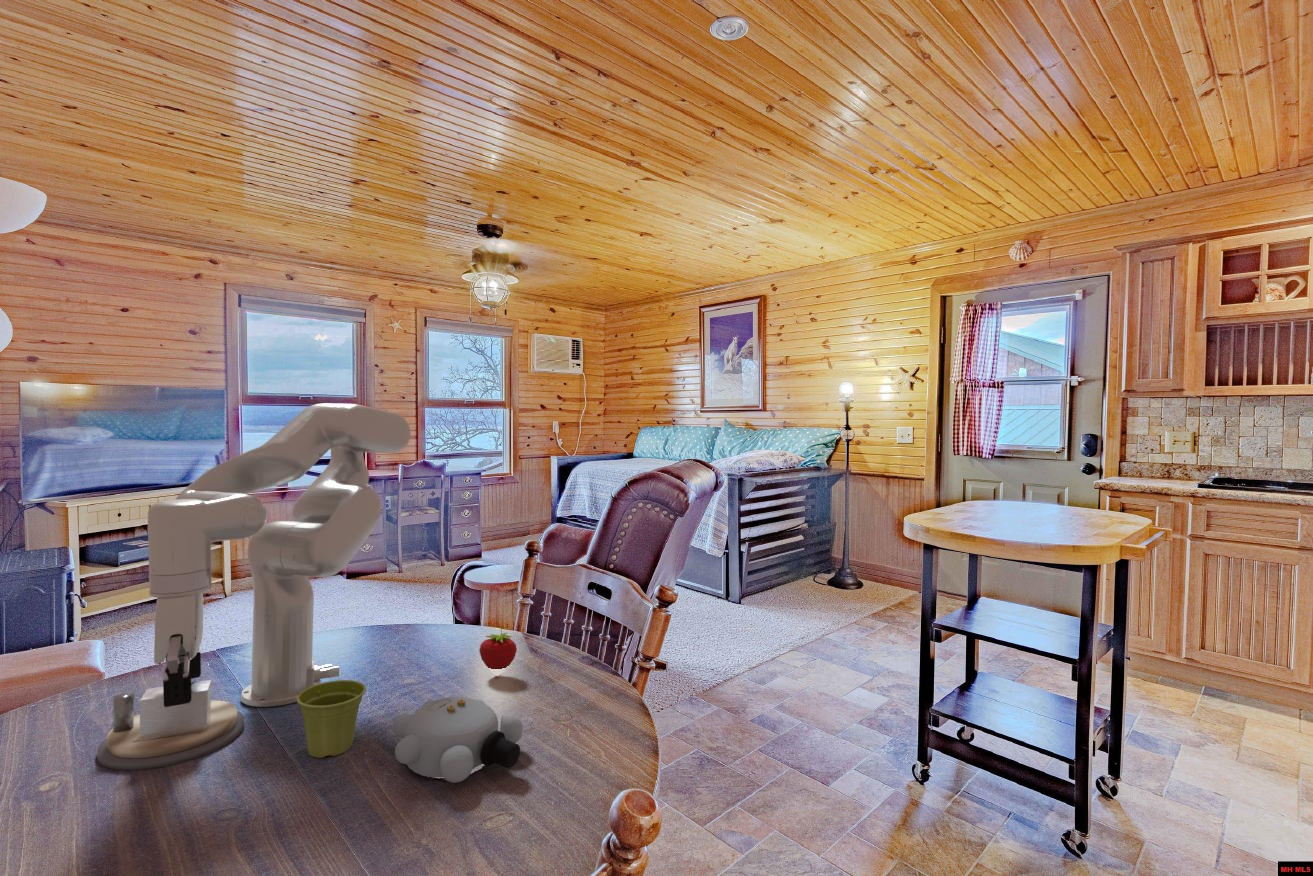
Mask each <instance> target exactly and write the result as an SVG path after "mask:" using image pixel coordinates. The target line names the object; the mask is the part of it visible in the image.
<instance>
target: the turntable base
mask: <svg viewBox="0 0 1313 876" xmlns="http://www.w3.org/2000/svg"><path fill="white" fill-rule="evenodd" d="M244 728H245V716H244V714H243V713H242V712H241V711H239V710H237V722H236V724H235V725H234V726H233V727H232V728H231V729H230V730H229V731H228V732H226V733H225V734H223V735H222V736H220V737H218V738H216V739H214V740H212V741H210V742H207V743H205V744H202V745H200V746H197V747H194V748H191V749H188V750H184V751H180V752H176V753H172V754H167V755H162V756H155V757H146V758H124V757H118V756H115V755H112V754H110V753H109V752H108V751H107V737H106V738H104V740H103V741H102V742H101V743H100V744H99V745H98V747H97V750H96V751H97V752H96V753H97V755H96V756H97V758H96V760H97V763H99V764H100V766H103V767H104V768H107V769H111V770H118V771H138V770H139V771H140V770H150V769H156V768H157V769H158V768H163V767H167V766H172V765H176V764H180V763H184V762H187V761H191V760H194V759H197V758H199V757H203V756H205V755H207V754H210V753H212V752H214V751H217V750H218V749H221V748H222V747H224V746H226V745H228V744H229V743H231V742H232V741H234V740H235V739H236V738H237V737H239V735H240V734H241V733H242V732H243V731H244Z"/></svg>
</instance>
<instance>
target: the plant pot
mask: <svg viewBox="0 0 1313 876" xmlns="http://www.w3.org/2000/svg"><path fill="white" fill-rule="evenodd" d="M366 691H367V687H366V685H365V684H364V683H363V682H361V681H359V680H358V681H357V680H352V679H339V680H332V681H325V682H321V683H320V684H317V685H314V686H311V687H309V688H307V689H305V690H303V691H302V692H301V693H299V695H298V696H297V702H296V703H297V704H298V705H299V707H300V711H301V713H302V719H303V725H304V732H305V739H306V740H305V741H306V750H307V751H306V752H307V754H308V755H309V756H310V757H313V758H318V759H319V758H320V759H322V758H325V757H326V756H333V757H335V756H339V755H342V754H343V753H345V752H347V751H349V749H350V748H351V747H352V745H353V744H354V743H353V742H354V737H355V731H356V725H357V720H358V714H359V708H360V704H361V703H362V700H363V696H364V695H365V693H366Z"/></svg>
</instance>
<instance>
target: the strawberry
mask: <svg viewBox="0 0 1313 876" xmlns="http://www.w3.org/2000/svg"><path fill="white" fill-rule="evenodd" d="M502 627H503V626H502V625H500V635H499V634H490V635H485V638H487V639H485V640H483V641H482V643H480V646H479V649H478V650H479V651H478V652H479V655H480V658H481V660H482V661H483V663H484V665H485V666H486V667H488V668H491V669H502V668H506V667H507V666H509V667H510V665H511V663H512V662H513V661H514V659H515V657H516V655H517V644H516V642H515V641H513V639H511V638H512V636H511V635H507V634H508V632H504V633H503V632H502V629H503V628H502ZM488 668H487V669H488Z"/></svg>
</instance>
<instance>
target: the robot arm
mask: <svg viewBox="0 0 1313 876" xmlns="http://www.w3.org/2000/svg"><path fill="white" fill-rule="evenodd" d="M411 434H412V433H411V427H410V424H409V422H408V421H407V419H406V418H405V417H403V416H402V415H401V414H399V413H395V412H392V411H387V410H383V409H378V408H375V407H370V406H366V405H363V404H357V403H316V404H313V405H309V406H308V407H306V408H305V409H303V410H302V411H300V412H299V413H298V414H297V415H296V416H295V417H294V418H293V419H291V420H290V421H289V422H288V423H287V424H286V425H284V426H283V427H282V428H281V429H279V431H277V432H276V433H275V434H274V435H273V436H272V437H270V438H269V439H268V440H267V441H266V442H265V443H263V444H262V445H260V446H258V447H256V448H252V449H250V450H248V451H246V452H243V453H241V454H239V455H237V456H235V457H233V458H231V459H228V460H226V461H223V462H222V463H221V462H220V463H219V464H218V465H216V466H214V467H212V468H210V469H209V470H207V471H205V472H204V473H202V474H201V475H200V476H199V477H198V478H196V479H195V480H194V481H192V482H191V483H190V484H189V485H188V486H186V488H184V489H183V490H182V491H181V492H180V493H179V494H178V496H177V497H176V498H175V499H170V500H169V499H168V500H164V501H159V502H156V503H154V504H152V505H151V506H150V507H149V509H148V512H147V535H148V536H147V539H148V545H147V546H148V548H147V549H148V580H149V581H148V587H149V591H148V592H149V593H148V594H149V596H150V597H153V598H156V603H155V617H154V646H153V647H154V649H153V652H154V653H153V662H154V663H153V664H155V665H157V666H158V665H159V666H160V665H161V663H164V662H165V664H164V665H165V666H164V671H163V672H164V673H163V674H164V675H163V680H162V685H163V686H162V687H163V696H164V706H165V707H170V706H176V705H181V704H187V703H190V702H191V699H192V693H191V683H192V679H196V678H200V676H201V674H202V670H201V669H202V667H201V666H202V665H201V664H202V660H201V659H202V658H201V657H202V656H201V653H202V652H201V651H200V647H201V644H202V641H203V633H204V596H203V594H204V592H206V591H207V590H210V589H211V588H212V587H213V585H212V583H213V582H212V549H211V548H212V544H213V543H214V542H224V541H238V540H243V539H246V538H250V539H249V541H248V546H247V558H248V563H249V568H250V572H251V578H252V579H251V580H252V588H253V605H252V607H253V612H252V643H251V644H252V645H251V646H252V648H251V649H252V650H251V651H252V653H251V684H249V685H248V686H246V687H245V688H244V689H243V690H242V691H241V693H240V700H241V703H243V704H245V705H246V706H250V707H257V708H269V707H279V706H280V707H281V706H285V705H289V704H292V703H297V696H298V695H299V693H301V692H302V691H303V690H305V689H307V688H309V687H311V686H314V685H317V684H320V683H322V680H321V679H323V680H324V679H332V678H338V677H339V678H340V665H338V666H332V665H333V664H324V665H319V666H318V664H315V659H313V641H314V640H313V638H314V603H315V602H314V601H315V596H314V589H313V585H312V583H311V581H310V578H309V577H314V578H327V577H332V576H334V575H336V574H339V572H341V571H342V570H343V569H344V568H345V567H346V566H347V565H349V563H350V561H351V560H352V559H353V558H354V556H355V555H356V554H357V552H358V551H359V550H360V548H361V547H362V546H363V544H364V543H365V542H366V540H367V539H368V538H369V537H370V535H371V534H372V533H373V531H374V530H375V528H376V527H377V524H378V523H379V520H380V516H381V512H382V502H381V501H382V500H381V498H380V496H379V493H378V492H377V491H375V490H374V489H373V488H371V487H370V486H368V483H369V480H370V474H369V470H368V467H367V465H366V462H365V458H364V453H368V454H369V453H370V454H373V453H374V454H396V453H399V452H402V451H403V450H404V449H405V448H407V446H408V444H409V442H410V441H411V440H410V439H411ZM328 451H330V460H329V462H328V465H327V466H326V467H325V469H324V470H323V471H322V472H321V474H319V476H317V477H316V479H315V480H314V481H313V482H312V483H311V484H310V485H309V486H308V487H306V490H304V492H302V493H301V495H300V496H299V497H298V498H297V500H296V502H295V503H294V504H293V509H292V517H293V519H294V521H293V520H280V521H279V520H277V521H273V522H268V523H266V521H267V517H268V513H267V507H266V506H265V504H264V503H263V502H262V500H260V499H259V498H258V497H256V496H254V495H251V493H254V492H256V491H260V490H265V489H269V488H273V487H277V486H281V485H285V484H288V483H291V482H294V481H296V480H299V479H301V478H302V477H304V476H305V474H306V473H308V471H309V470H311V468H313V466H315V465H316V463H317V462H318V461H319V460H320V459H321V458H322V457H324V455H325V454H326V453H328ZM265 523H266V524H265Z"/></svg>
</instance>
